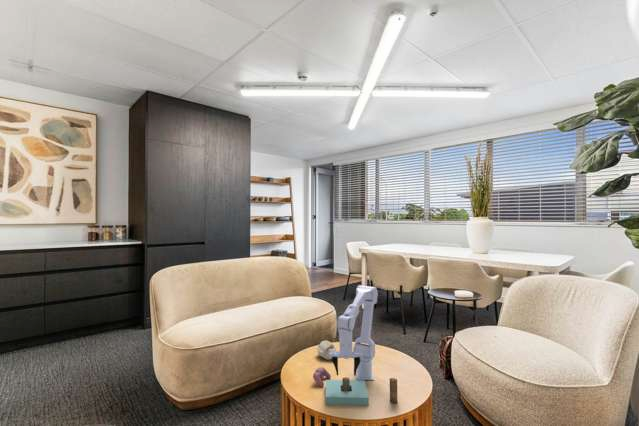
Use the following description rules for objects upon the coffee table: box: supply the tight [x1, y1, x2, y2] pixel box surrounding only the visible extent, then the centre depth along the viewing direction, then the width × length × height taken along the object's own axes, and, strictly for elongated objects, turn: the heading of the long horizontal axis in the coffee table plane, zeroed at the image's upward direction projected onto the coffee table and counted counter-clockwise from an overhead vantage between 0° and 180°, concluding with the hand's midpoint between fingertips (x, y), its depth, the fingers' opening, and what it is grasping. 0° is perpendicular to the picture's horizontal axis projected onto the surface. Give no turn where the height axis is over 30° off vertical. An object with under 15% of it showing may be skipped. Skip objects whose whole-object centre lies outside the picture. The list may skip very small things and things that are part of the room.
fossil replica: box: [316, 339, 337, 360], centre depth 170 cm, size 12×8×10 cm
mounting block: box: [325, 379, 370, 406], centre depth 132 cm, size 14×18×3 cm
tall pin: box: [389, 377, 399, 404], centre depth 127 cm, size 3×3×9 cm
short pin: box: [341, 377, 351, 391], centre depth 132 cm, size 3×3×7 cm
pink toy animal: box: [312, 366, 332, 388], centre depth 144 cm, size 10×5×7 cm, turn 155°
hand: (346, 374), depth 132 cm, fingers open, 7 cm apart
